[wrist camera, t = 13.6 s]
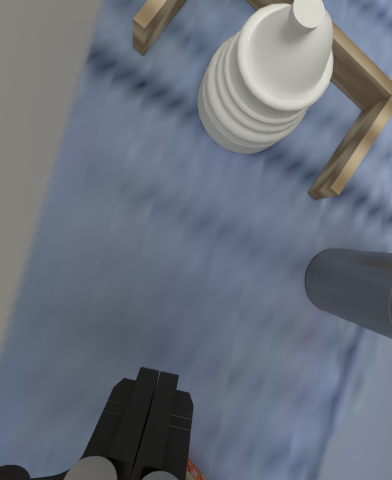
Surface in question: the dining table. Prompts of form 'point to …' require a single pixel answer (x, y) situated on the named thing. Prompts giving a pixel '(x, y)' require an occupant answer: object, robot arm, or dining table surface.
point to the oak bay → (343, 76)
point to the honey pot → (267, 76)
